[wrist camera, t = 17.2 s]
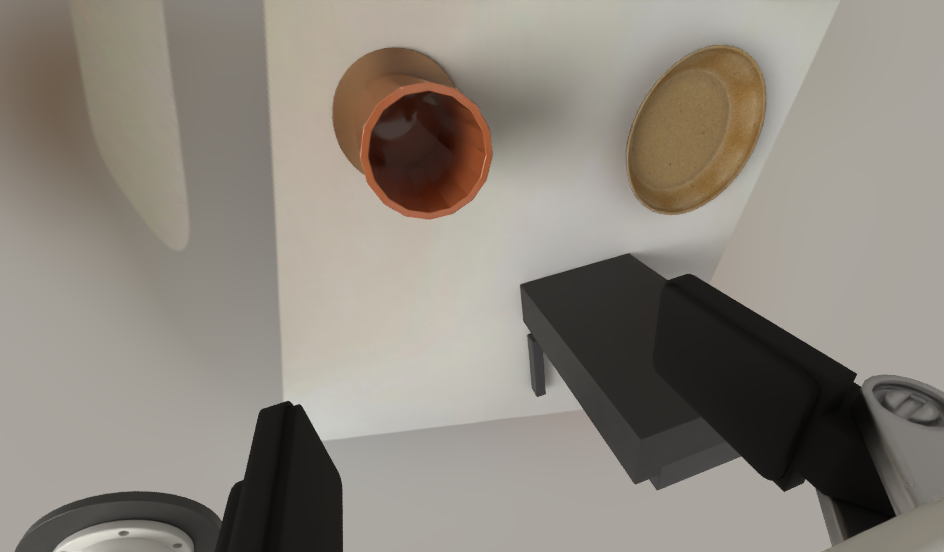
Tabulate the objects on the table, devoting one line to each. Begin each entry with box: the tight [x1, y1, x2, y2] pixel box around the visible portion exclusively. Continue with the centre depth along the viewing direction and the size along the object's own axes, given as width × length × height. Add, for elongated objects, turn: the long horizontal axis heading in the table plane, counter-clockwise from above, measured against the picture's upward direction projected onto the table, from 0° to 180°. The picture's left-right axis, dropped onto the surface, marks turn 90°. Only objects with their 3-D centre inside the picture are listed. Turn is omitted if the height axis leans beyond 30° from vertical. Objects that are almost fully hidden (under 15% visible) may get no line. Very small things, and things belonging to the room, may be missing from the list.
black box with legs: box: [520, 254, 741, 490], centre depth 38 cm, size 13×16×20 cm
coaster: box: [332, 48, 456, 175], centre depth 30 cm, size 10×10×1 cm
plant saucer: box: [626, 45, 766, 215], centre depth 37 cm, size 15×15×3 cm
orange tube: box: [354, 73, 493, 219], centre depth 25 cm, size 7×7×12 cm
